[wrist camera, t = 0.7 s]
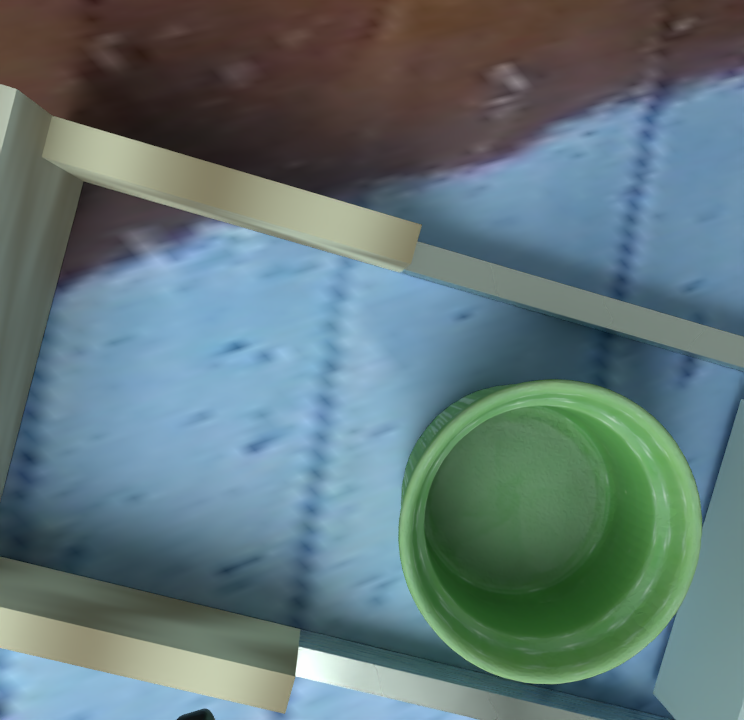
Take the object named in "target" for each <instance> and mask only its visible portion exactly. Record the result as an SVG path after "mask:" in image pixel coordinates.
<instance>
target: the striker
mask: <svg viewBox="0 0 744 720" xmlns="http://www.w3.org/2000/svg"><path fill="white" fill-rule="evenodd" d="M653 694H654V695H655V696H656V697H657V699H658V700H659V701H660V702H661V703H662V704H663V706H664V707H665V708H666V709H667V710H668V711H669V712H670V714H671V715H672V716H673V717H674V718H675V719H676V720H744V399H741V401H740V405H739V408H738V411H737V415H736V418H735V421H734V425H733V428H732V431H731V435H730V438H729V441H728V444H727V448H726V451H725V454H724V458H723V461H722V464H721V468H720V471H719V474H718V478H717V481H716V484H715V488H714V491H713V494H712V498H711V501H710V504H709V508H708V511H707V514H706V518H705V521H704V524H703V528H702V537H701V548H700V554H699V559H698V564H697V567H696V571H695V574H694V577H693V580H692V582H691V585H690V587H689V589H688V592H687V594H686V596H685V598H684V600H683V602H682V604H681V605H680V607H679V609H678V611H677V614H676V617H675V621H674V624H673V627H672V631H671V634H670V637H669V641H668V644H667V647H666V651H665V654H664V657H663V660H662V664H661V667H660V670H659V674H658V677H657V680H656V684H655V687H654V690H653Z"/></svg>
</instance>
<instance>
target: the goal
mask: <svg viewBox="0 0 744 720" xmlns="http://www.w3.org/2000/svg"><path fill="white" fill-rule="evenodd" d="M83 182H87V183H91V184H94V185H98V186H101V187H105V188H108V189H112V190H115V191H119V192H122V193H126V194H129V195H133V196H136V197H139V198H143V199H146V200H150V201H153V202H157V203H160V204H164V205H167V206H171V207H174V208H178V209H181V210H185V211H188V212H191V213H195V214H198V215H202V216H205V217H209V218H212V219H216V220H219V221H223V222H226V223H230V224H233V225H237V226H240V227H243V228H247V229H250V230H254V231H257V232H261V233H264V234H268V235H271V236H275V237H278V238H282V239H285V240H289V241H292V242H296V243H299V244H302V245H306V246H309V247H313V248H316V249H320V250H323V251H327V252H330V253H334V254H337V255H341V256H344V257H348V258H351V259H354V260H358V261H361V262H365V263H368V264H372V265H375V266H379V267H382V268H386V269H389V270H393V271H396V272H400V273H403V274H406V275H410V276H413V277H417V278H420V279H424V280H427V281H431V282H434V283H438V284H441V285H445V286H448V287H452V288H455V289H458V290H462V291H465V292H469V293H472V294H476V295H479V296H483V297H486V298H490V299H493V300H497V301H500V302H504V303H507V304H511V305H514V306H517V307H521V308H524V309H528V310H531V311H535V312H538V313H542V314H545V315H549V316H552V317H556V318H559V319H563V320H566V321H569V322H573V323H576V324H580V325H583V326H587V327H590V328H594V329H597V330H601V331H604V332H608V333H611V334H615V335H618V336H621V337H625V338H628V339H632V340H635V341H639V342H642V343H646V344H649V345H653V346H656V347H660V348H663V349H667V350H670V351H673V352H677V353H680V354H684V355H687V356H691V357H694V358H698V359H701V360H705V361H708V362H712V363H715V364H719V365H722V366H726V367H729V368H732V369H736V370H739V371H743V372H744V337H743V336H739V335H736V334H732V333H729V332H726V331H722V330H719V329H715V328H712V327H708V326H705V325H702V324H698V323H695V322H691V321H688V320H685V319H681V318H678V317H674V316H671V315H667V314H664V313H661V312H657V311H654V310H650V309H647V308H644V307H640V306H637V305H633V304H630V303H626V302H623V301H620V300H616V299H613V298H609V297H606V296H603V295H599V294H596V293H592V292H589V291H585V290H582V289H579V288H575V287H572V286H568V285H565V284H562V283H558V282H555V281H551V280H548V279H545V278H541V277H538V276H534V275H531V274H527V273H524V272H521V271H517V270H514V269H510V268H507V267H504V266H500V265H497V264H493V263H490V262H486V261H483V260H480V259H476V258H473V257H469V256H466V255H463V254H459V253H456V252H452V251H449V250H445V249H442V248H439V247H435V246H432V245H428V244H425V243H422V242H418V241H417V240H418V237H419V233H420V230H421V226H422V225H421V224H417V223H414V222H410V221H407V220H404V219H400V218H397V217H393V216H390V215H387V214H383V213H380V212H377V211H373V210H370V209H366V208H363V207H360V206H356V205H353V204H349V203H346V202H343V201H339V200H336V199H332V198H329V197H326V196H322V195H319V194H316V193H312V192H309V191H305V190H302V189H299V188H295V187H292V186H288V185H285V184H282V183H278V182H275V181H271V180H268V179H265V178H261V177H258V176H255V175H251V174H248V173H244V172H241V171H238V170H234V169H231V168H227V167H224V166H221V165H217V164H214V163H210V162H207V161H204V160H200V159H197V158H193V157H190V156H187V155H183V154H180V153H177V152H173V151H170V150H166V149H163V148H160V147H156V146H153V145H149V144H146V143H143V142H139V141H136V140H132V139H129V138H126V137H122V136H119V135H116V134H112V133H109V132H105V131H102V130H99V129H95V128H92V127H88V126H85V125H82V124H78V123H75V122H71V121H68V120H65V119H61V118H58V117H54V116H52V115H50V114H49V113H48V112H46V111H45V110H44V109H42V108H41V107H40V106H39V105H37V104H36V103H35V102H33V101H32V100H31V99H29V98H28V97H27V96H25V95H24V94H23V93H21V92H20V91H19V90H17V89H15V88H11V87H8V86H4V85H1V84H0V500H1V496H2V493H3V489H4V485H5V481H6V477H7V473H8V470H9V466H10V462H11V458H12V454H13V450H14V447H15V443H16V439H17V435H18V431H19V427H20V424H21V420H22V416H23V412H24V408H25V404H26V401H27V397H28V393H29V389H30V385H31V381H32V378H33V374H34V370H35V366H36V362H37V358H38V354H39V351H40V347H41V343H42V339H43V335H44V331H45V328H46V324H47V320H48V316H49V312H50V308H51V305H52V301H53V297H54V293H55V289H56V285H57V282H58V278H59V274H60V270H61V266H62V262H63V259H64V255H65V251H66V247H67V243H68V239H69V236H70V232H71V228H72V224H73V220H74V216H75V213H76V209H77V205H78V201H79V197H80V193H81V189H82V186H83ZM0 648H3V649H8V650H12V651H16V652H21V653H25V654H29V655H33V656H38V657H42V658H46V659H51V660H55V661H59V662H64V663H68V664H72V665H77V666H81V667H85V668H90V669H94V670H98V671H103V672H107V673H111V674H116V675H120V676H124V677H129V678H133V679H137V680H142V681H146V682H150V683H154V684H159V685H163V686H167V687H172V688H176V689H180V690H185V691H189V692H193V693H198V694H202V695H206V696H211V697H215V698H219V699H224V700H228V701H232V702H237V703H241V704H245V705H250V706H254V707H258V708H263V709H267V710H271V711H276V712H280V713H284V714H285V712H286V708H287V704H288V701H289V697H290V694H291V690H292V687H293V683H294V679H295V676H298V677H302V678H306V679H310V680H315V681H319V682H323V683H327V684H332V685H336V686H340V687H344V688H348V689H353V690H357V691H361V692H365V693H370V694H374V695H378V696H382V697H387V698H391V699H395V700H399V701H404V702H408V703H412V704H416V705H420V706H425V707H429V708H433V709H437V710H442V711H446V712H450V713H454V714H459V715H463V716H467V717H471V718H475V719H480V720H674V719H670V718H665V717H661V716H657V715H653V714H649V713H645V712H641V711H637V710H632V709H628V708H624V707H620V706H616V705H612V704H608V703H603V702H599V701H595V700H591V699H587V698H583V697H579V696H575V695H570V694H566V693H562V692H558V691H554V690H550V689H546V688H541V687H537V686H533V685H529V684H525V683H521V682H517V681H513V680H508V679H504V678H500V677H496V676H492V675H488V674H484V673H479V672H475V671H471V670H467V669H463V668H459V667H455V666H451V665H446V664H442V663H438V662H434V661H430V660H426V659H422V658H417V657H413V656H409V655H405V654H401V653H397V652H393V651H389V650H384V649H380V648H376V647H372V646H368V645H364V644H360V643H355V642H351V641H347V640H343V639H339V638H335V637H331V636H327V635H322V634H318V633H314V632H310V631H306V630H302V629H298V628H293V627H289V626H285V625H281V624H277V623H273V622H269V621H265V620H260V619H256V618H252V617H248V616H244V615H240V614H236V613H232V612H227V611H223V610H219V609H215V608H211V607H207V606H203V605H198V604H194V603H190V602H186V601H182V600H178V599H174V598H170V597H165V596H161V595H157V594H153V593H149V592H145V591H141V590H136V589H132V588H128V587H124V586H120V585H116V584H112V583H108V582H103V581H99V580H95V579H91V578H87V577H83V576H79V575H74V574H70V573H66V572H62V571H58V570H54V569H50V568H46V567H41V566H37V565H33V564H29V563H25V562H21V561H17V560H12V559H8V558H4V557H0Z"/></svg>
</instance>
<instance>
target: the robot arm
mask: <svg viewBox="0 0 744 720" xmlns="http://www.w3.org/2000/svg"><path fill="white" fill-rule="evenodd" d="M177 720H215V719H214V716H213V714H212V713H211V712H210V710H208V709H201V710H198V711H194V712H191V713H188V714H184V715H182V716H180V717H179V718H178V719H177Z"/></svg>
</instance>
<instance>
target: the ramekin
mask: <svg viewBox="0 0 744 720" xmlns="http://www.w3.org/2000/svg"><path fill="white" fill-rule="evenodd" d="M701 537H702V515H701V504H700V498H699V493H698V490H697V486H696V482H695V479H694V477H693V474H692V471H691V469H690V466H689V464H688V462H687V460H686V458H685V456H684V455H683V453H682V451H681V450H680V448H679V446H678V445H677V443H676V442H675V440H674V439H673V438H672V436H671V435H670V434H669V432H668V431H667V430H666V429H665V428H664V427H663V426H662V425H661V424H660V423H659V422H658V421H657V420H656V419H655V418H654V417H653V416H652V415H651V414H650V413H648V412H647V411H646V410H645V409H643V408H642V407H640V406H639V405H638V404H636V403H634V402H633V401H631V400H629V399H628V398H626V397H624V396H622V395H620V394H618V393H616V392H614V391H611V390H609V389H606V388H603V387H600V386H597V385H593V384H589V383H584V382H579V381H573V380H562V379H548V380H536V381H529V382H523V383H519V384H510V385H502V386H495V387H491V388H487V389H483V390H479V391H476V392H474V393H472V394H469V395H467V396H465V397H463V398H461V399H460V400H458V401H457V402H455V403H453V404H451V405H450V406H449V407H447V408H446V409H445V410H444V411H443V412H442V413H440V414H439V415H438V416H437V417H436V418H435V419H434V420H433V421H432V423H431V424H430V425H429V426H428V427H427V428H426V430H425V431H424V433H423V434H422V435H421V437H420V438H419V439H418V441H417V443H416V445H415V447H414V448H413V450H412V452H411V454H410V457H409V460H408V463H407V466H406V469H405V474H404V478H403V483H402V496H401V511H400V518H399V551H400V559H401V564H402V569H403V573H404V576H405V580H406V583H407V586H408V588H409V590H410V593H411V595H412V597H413V599H414V601H415V603H416V605H417V607H418V609H419V610H420V612H421V614H422V615H423V617H424V618H425V620H426V621H427V623H428V624H429V625H430V626H431V628H432V629H433V630H434V631H435V632H436V633H437V635H438V636H439V637H440V638H441V639H442V640H443V641H444V642H445V643H446V644H447V645H448V646H449V647H450V648H451V649H453V650H454V651H455V652H456V653H458V654H459V655H460V656H462V657H463V658H464V659H465V660H467V661H469V662H470V663H472V664H474V665H476V666H477V667H479V668H481V669H483V670H485V671H487V672H489V673H492V674H494V675H497V676H500V677H503V678H507V679H511V680H515V681H520V682H524V683H533V684H561V683H568V682H574V681H579V680H583V679H587V678H590V677H593V676H596V675H599V674H602V673H604V672H606V671H608V670H611V669H613V668H615V667H617V666H619V665H621V664H622V663H624V662H626V661H627V660H629V659H630V658H632V657H633V656H634V655H636V654H637V653H639V652H640V651H641V650H642V649H644V648H645V647H646V646H647V645H648V644H649V643H650V642H652V641H653V640H654V639H655V638H656V637H657V636H658V635H659V634H660V633H661V631H662V630H663V629H664V628H665V627H666V626H667V624H668V623H669V621H670V620H671V619H672V618H673V616H674V615H675V614H676V612H677V611H678V609H679V607H680V605H681V604H682V602H683V600H684V598H685V596H686V594H687V592H688V589H689V587H690V585H691V582H692V580H693V577H694V574H695V571H696V567H697V564H698V559H699V554H700V548H701Z"/></svg>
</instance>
